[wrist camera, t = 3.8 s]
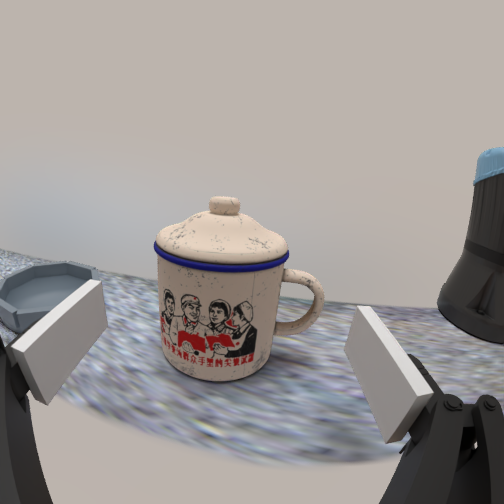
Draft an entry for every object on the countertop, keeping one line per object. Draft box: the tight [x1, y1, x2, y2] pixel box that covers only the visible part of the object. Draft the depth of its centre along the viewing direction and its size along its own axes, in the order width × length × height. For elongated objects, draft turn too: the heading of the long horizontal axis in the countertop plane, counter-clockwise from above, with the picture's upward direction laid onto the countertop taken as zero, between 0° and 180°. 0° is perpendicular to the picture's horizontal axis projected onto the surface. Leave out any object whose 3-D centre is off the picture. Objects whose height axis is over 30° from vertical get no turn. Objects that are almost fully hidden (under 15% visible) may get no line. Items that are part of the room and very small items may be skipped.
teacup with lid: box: [154, 196, 324, 381], centre depth 19 cm, size 12×9×12 cm
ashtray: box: [0, 261, 100, 333], centre depth 22 cm, size 13×13×2 cm
